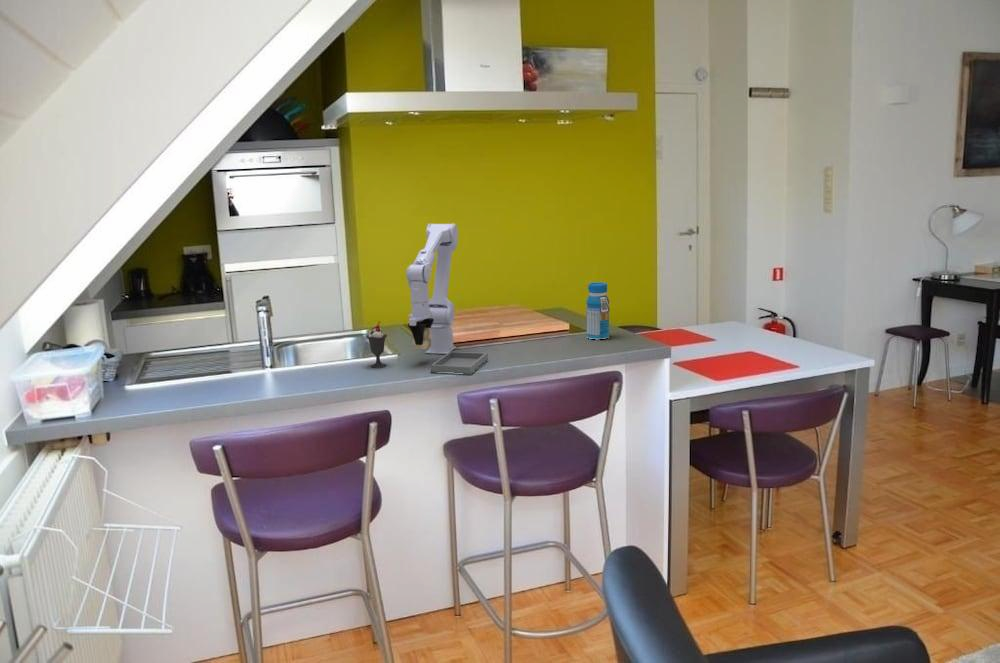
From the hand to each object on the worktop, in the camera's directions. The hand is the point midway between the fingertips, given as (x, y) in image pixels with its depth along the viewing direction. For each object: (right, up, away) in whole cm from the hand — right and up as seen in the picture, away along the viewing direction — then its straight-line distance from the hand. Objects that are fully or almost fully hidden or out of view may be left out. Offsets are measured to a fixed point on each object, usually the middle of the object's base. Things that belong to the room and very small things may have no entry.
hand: (422, 342), depth 254 cm
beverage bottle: (+61, +1, +30) cm, 68 cm away
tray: (+13, -8, -4) cm, 15 cm away
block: (0, -1, 0) cm, 2 cm away
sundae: (-14, -8, -1) cm, 16 cm away
